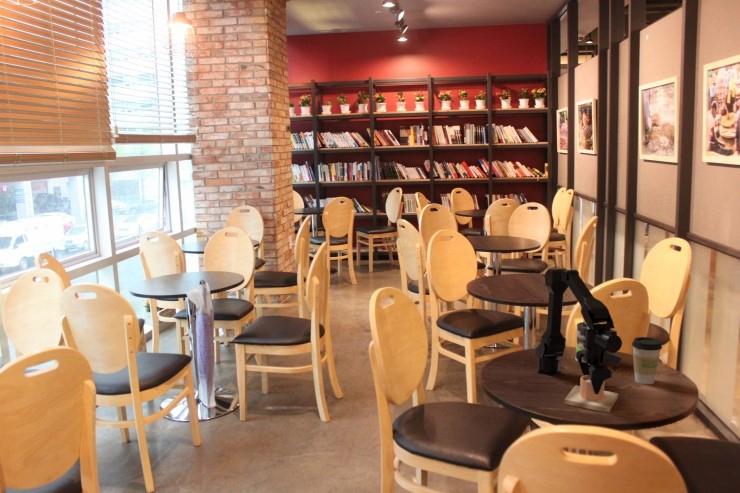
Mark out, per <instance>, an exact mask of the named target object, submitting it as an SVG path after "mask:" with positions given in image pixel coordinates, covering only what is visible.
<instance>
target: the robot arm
mask: <svg viewBox="0 0 740 493" xmlns="http://www.w3.org/2000/svg"><path fill="white" fill-rule="evenodd" d="M544 284H545V287H546V289H547V291H548V303H547V305H548V306H547V319H546V320H547V321H546V328H545V331H544V333H543V334H542V335H541V338H540V343H539V344H538V345H537V346H536V347H535V349H534V351H535V355H536V356H537V357H539V361H538V362H539V364H538V365H539V367H538V370H537V373H538V374H539V373H540V374H544V375H550V376H556V375H557V373H559V372H560V368H561V367H560V365H561V360H560V358H559V357H563V356H564V353H565V349H566V341H567V339H566V337H565V336H564V335H563V334H562V331H561V330H562V318H563V317H562V315H563V303H564V294H565V292H566V291H567V290H568V289H570V291H571V293H572V295H573V296H574V297H575V299H576V300H577V302H578V304H579V305H580V307H581V308H580V313H581V316H582V318H583V320H584V322H585V323H584V324H583V326H584V327H586V338H585V344H583V347H584V348H585V350H579V351H578V352H577V353H576V352H575V358H577V360H578V361H577V364H578V365H579V367H580V368H579V369H580V370H581V373H582V376H584V375H589V377H590V380H591V384H592V387H593V390H594V393H595V394H599V391H600V389H601V386H602V384H603V382H604V383H605V381H606V380H609V379H611V378H613V371H612V370H611V369H610V367H608V366H607V364H611V365H614V366H615V367H619V366H620V363H621V362H622V358H623V357H622V356H621V355H620V354H618V353H617V352H619V351H620V350H621V348H622V345H623V340H622V338H621V337H620V336H619V335H618V332H617V330H615V325H614V320H613V318H612V316H611V313H610V311H609V309H608V307H607V306H606V305H605V304H604V302H602V301H601V300H600V299H597V298H596V297H594V295H593V294H592V292H591V291H590V289H589V287H587V285H586V283H585V282H584V281H583V279H582V277H581V276H580V273H579V271H578V270H577V269H567V268H565V267H561V268H550V269H549V268H548V269H547V270H546V271H545V273H544ZM596 323H599V324H596Z"/></svg>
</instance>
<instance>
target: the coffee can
mask: <svg viewBox="0 0 740 493" xmlns="http://www.w3.org/2000/svg"><path fill="white" fill-rule="evenodd" d="M584 323H585V321H582V322H578V323H577V324H576V329H577V330H576V342H575V343H576V344H575V345H576V346H575V348H576V349H575V354H576V353H577V352H578V351H579V350H585V348H584V347H583V344H585V338H586V327H584V326H583V324H584ZM596 324H600V323H596ZM574 360H575V361H576V362H578V360H577V358H576V357H575V359H574Z"/></svg>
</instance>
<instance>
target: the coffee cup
mask: <svg viewBox="0 0 740 493" xmlns="http://www.w3.org/2000/svg"><path fill="white" fill-rule="evenodd" d="M631 346H632V350H633V351H632V358H633V359H632V360H633V371H634V381H635V382H636V383H638V384H640V385H641V384H642V385H653V384H654V382H655V378H656V374H657V370H658V366H659V360H660V355H661V354H660V353H661V349H662V348H663V346H662V343H661V341H660V340H659V339H657V338H653V337H650V336H649V337H647V336H638V337H635V338H634V339H633V341H632V343H631Z"/></svg>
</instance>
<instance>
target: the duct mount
mask: <svg viewBox="0 0 740 493" xmlns="http://www.w3.org/2000/svg"><path fill="white" fill-rule="evenodd" d="M585 381H587V382H591V380H590V379H588V380H585ZM618 399H619V392H618V393H617V392H612V391H607V390H604V398H603V399H602V400H599V401H591V400H586V399H584V398H582V397H581V396H580V385H574V387H573V388H572V389H571V391H570V392H569V393H568V394H567V396H566V397H565V398H564V402H563V404H564V405H569V406H573V407H579V408H583V409H589V410H593V411H598V412H602V413H606V414H607V413H608V414H609V413H610V412H611V411H612V409H613V407H614V406H615V404H616V402H617V400H618Z"/></svg>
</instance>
